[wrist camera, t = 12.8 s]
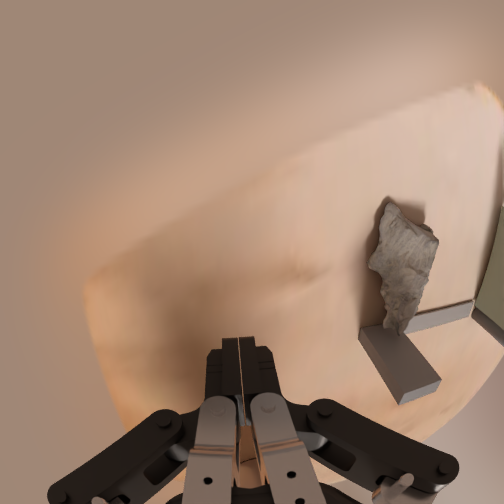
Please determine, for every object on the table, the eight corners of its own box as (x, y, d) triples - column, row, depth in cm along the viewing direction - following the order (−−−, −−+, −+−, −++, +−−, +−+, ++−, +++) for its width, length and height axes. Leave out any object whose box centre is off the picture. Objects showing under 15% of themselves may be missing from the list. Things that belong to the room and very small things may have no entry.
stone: (342, 316, 27) (357, 341, 23) (379, 199, 22) (405, 210, 18) (390, 317, 28) (408, 339, 24) (428, 213, 23) (454, 226, 19)
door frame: (486, 313, 29) (525, 347, 20) (356, 348, 28) (393, 414, 18) (492, 294, 28) (534, 327, 19) (361, 324, 27) (405, 390, 17)
